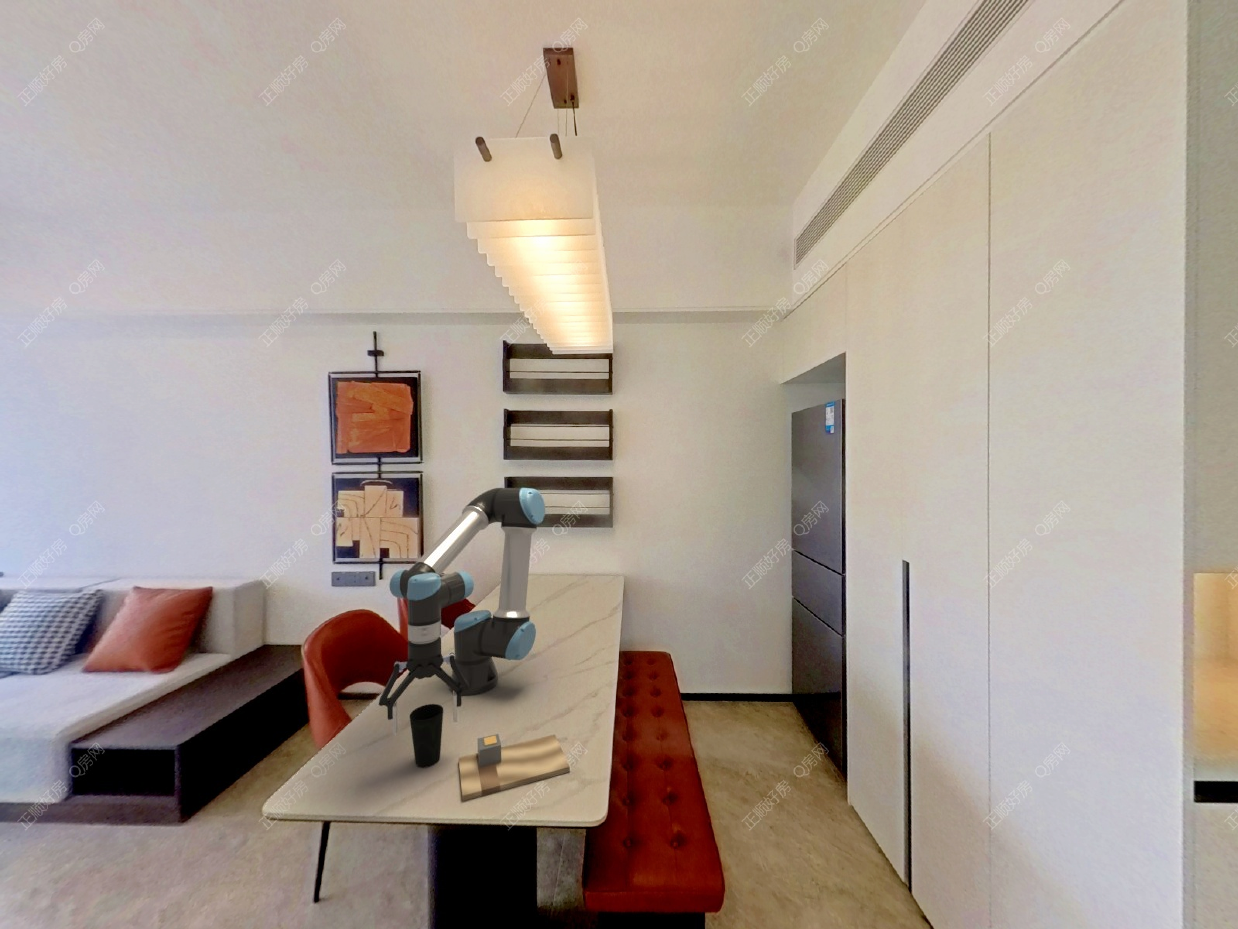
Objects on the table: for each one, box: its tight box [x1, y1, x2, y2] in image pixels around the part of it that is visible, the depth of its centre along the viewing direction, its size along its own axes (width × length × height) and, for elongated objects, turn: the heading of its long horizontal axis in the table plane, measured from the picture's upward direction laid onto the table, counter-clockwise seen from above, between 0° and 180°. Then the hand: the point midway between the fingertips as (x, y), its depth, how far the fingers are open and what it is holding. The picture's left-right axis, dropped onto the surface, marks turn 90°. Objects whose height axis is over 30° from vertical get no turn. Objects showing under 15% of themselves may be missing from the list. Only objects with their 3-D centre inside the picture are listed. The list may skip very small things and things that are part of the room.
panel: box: [458, 733, 571, 802], centre depth 113 cm, size 14×24×1 cm, turn 112°
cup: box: [409, 703, 444, 769], centre depth 116 cm, size 8×8×12 cm
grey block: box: [476, 733, 502, 767], centre depth 115 cm, size 5×5×4 cm
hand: (425, 725), depth 116 cm, fingers open, 13 cm apart
